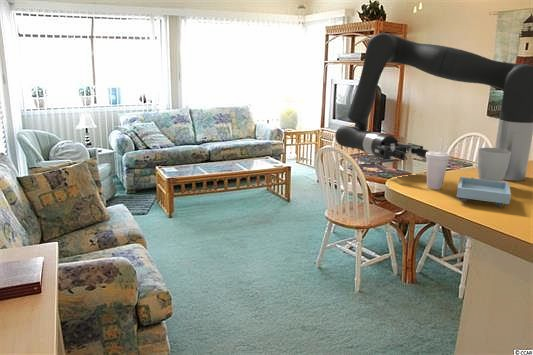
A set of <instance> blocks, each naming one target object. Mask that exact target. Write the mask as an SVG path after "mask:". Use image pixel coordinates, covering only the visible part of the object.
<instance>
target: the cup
mask: <svg viewBox="0 0 533 355" xmlns="http://www.w3.org/2000/svg"><path fill="white" fill-rule="evenodd" d="M510 156H511V151H509V150H505V149H499V148H495V147H480V148H478V158H477V175H478V179H483V180H492V181H500V182H504V176H505V173H506V171H507V168H508V164H509V160H510Z"/></svg>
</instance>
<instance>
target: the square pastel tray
mask: <svg viewBox="0 0 533 355" xmlns="http://www.w3.org/2000/svg"><path fill="white" fill-rule="evenodd" d="M511 192H512V191H511V187H510V183H509V182H507V181H502V182H500V181H492V180H483V179H479V178H475V177H474V178H473V177H464V176H459V180H458V185H457V190H456V198H460V201H461V203H467V202H468V200H475V201H476V200H477V201H484V202H491V203H496V207H497V208H503V207H504V206H505V204H506V205H510V203H511V198H512V197H511V196H512V193H511Z"/></svg>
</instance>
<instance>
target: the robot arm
mask: <svg viewBox="0 0 533 355" xmlns="http://www.w3.org/2000/svg"><path fill="white" fill-rule="evenodd" d="M366 44H367V45H366V49H365V54H364V60H363V65H362V70H361V72H360V73H361V74H360V77H359V81H358V85H357V88H356V90H355V93H354V95H353V98H352V101H351V104H350V106H349V110H348V113H347V117H348V119H349V120H350V121H352V122H354V126H347V125H342V126H341V127H339V128H338V129H337V130H336V131H335V135H334V136H335V137H334V138H335V141H336V142H337V144H338V145H339V146H341V147H345V148H350V149H356V150H359V151H361V152H365V153H368V154H369V155H372V156H374V157H377V158H381V159H383V160H390V159H398V160H401V161H404V160H405V159H406V157H410V156H411V157H412V156H418V157H422V158H424V159H427V157H426V156H425V155H426V152H429V150H428V149H425V148H424V146H422V145H419V144H414V143H411V142H408V143H403V142H399V141H398V139H397V138H396V137H395V136H393V135H389V134H385V133H381V132H378V131H377V132H376V131H375V132H374V131H370V130H368V121H369V120H368V119H369V116H370V114H371V112H372V109H373V106H374V103H375V99H376V94H377V89H378V86H379V85H378V84H379V80H380V78H381V77H382V76H381V75H382V74H383V71H384V69H385V68H386V65H387V64H388V63H393V64H394V63H395V64H401V65H405V66H410V67H412V68H415V69H417V70H420V71H422V72H425V73H427V74H428V75H432V76H434V77H438V78H442V79H445V80H450V81H455V82H462V83H468V84H480V85H485V86H490V87H493V88H496V89H499V90H502V91H503V92H502V94H503V95H502V101H501V106H500V113H499V119H498V127H497V133H496V139H495V146H494V148H499V149H505V150H509V151H511V156H510V160H509V164H508V168H507V171H506V173H505V176H504V179H503V181H504V180H505V181H513V182H516V181H517V182H518V181H525V180H526V175H527V169H528V163H529V158H530V153H531V147H532V141H533V65H532V64H527V63H523V64H522V63H521V64H520V63H512V62H504V61H499V60H493V59H491V58H488V57H485V56H482V55H479V54H477V53H474V52H471V51H468V50H463V49H460V48H454V47H451V46H450V47H449V46H446V45H445V46H444V45H439V44H431V43H421V42H420V43H419V42H415V41H412V40H409V39H405V38H402V37H400V36H397V35H394V34H391V33H388V32H383V33H382V32H381V33H376V34H374V35H373V36H372V37H370V39H369V40H368V42H367V43H366Z"/></svg>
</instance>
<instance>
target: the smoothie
mask: <svg viewBox="0 0 533 355" xmlns="http://www.w3.org/2000/svg"><path fill="white" fill-rule="evenodd" d="M443 142H444V137H441V138H440V144H439V145H440V146H439V151H437V150H436V151H433V150H432V151H431V150H428V152H426V155H425V156H426V188H427V189H429V190H434V191H435V190H441V189H442V187H443V183H444V178H445V176H446V175H445V174H446V171H447V167H448V165H449V164H448V163H449V161H450V159H451V154H450V152H445V151H442V150H443V145H444V143H443Z"/></svg>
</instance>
